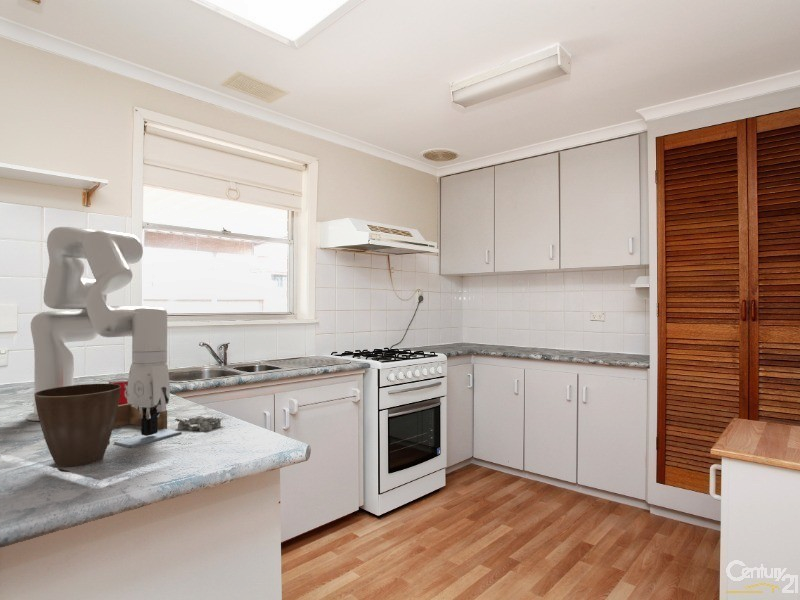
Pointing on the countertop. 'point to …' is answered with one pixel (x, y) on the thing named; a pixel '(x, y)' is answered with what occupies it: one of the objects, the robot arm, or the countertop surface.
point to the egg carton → (200, 420)
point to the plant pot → (77, 421)
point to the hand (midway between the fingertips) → (149, 434)
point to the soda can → (124, 388)
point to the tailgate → (147, 438)
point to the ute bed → (135, 417)
